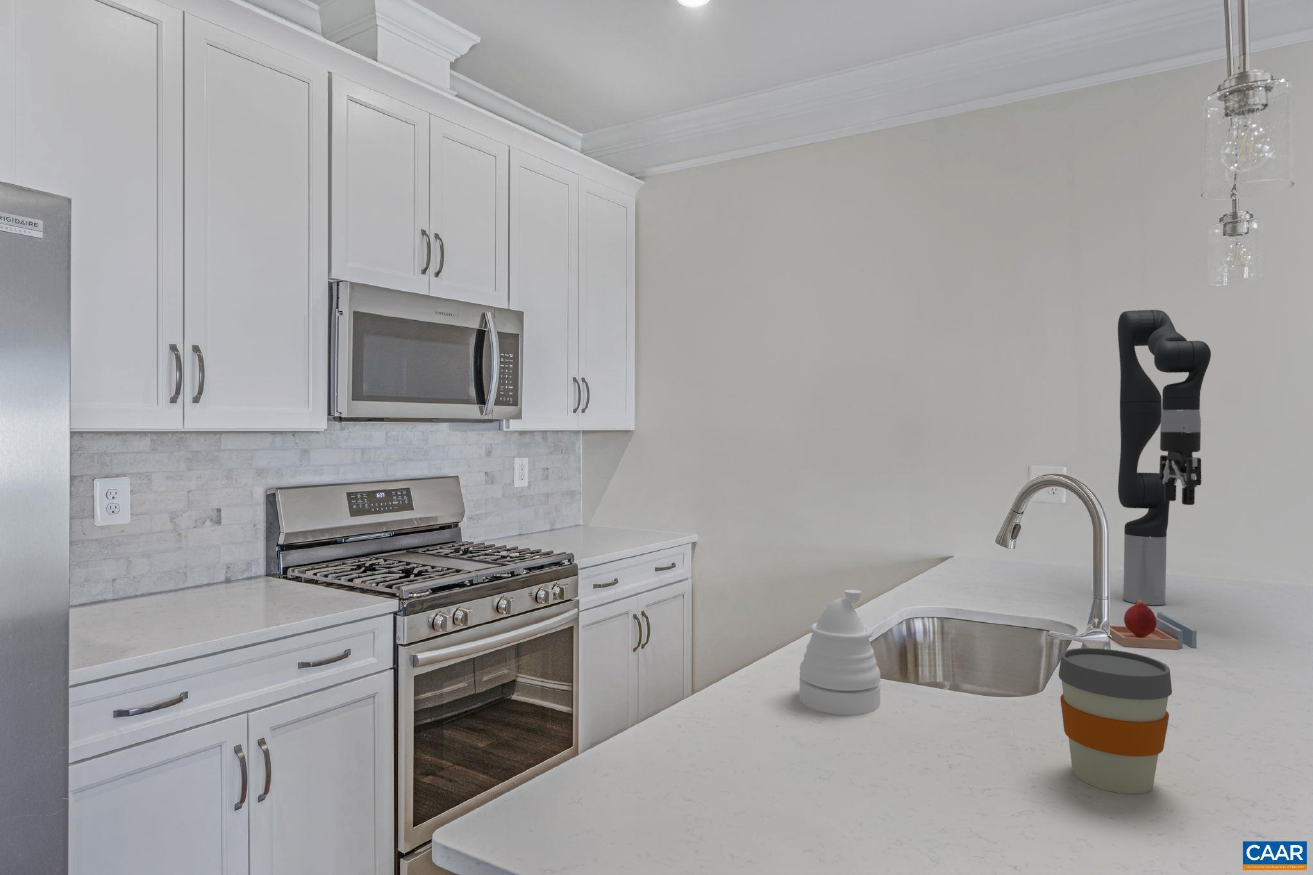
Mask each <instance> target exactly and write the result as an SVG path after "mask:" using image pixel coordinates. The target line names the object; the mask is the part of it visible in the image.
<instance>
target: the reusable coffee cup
mask: <svg viewBox="0 0 1313 875" xmlns="http://www.w3.org/2000/svg"><path fill="white" fill-rule="evenodd" d="M1059 663H1060V664H1059V669H1058V678H1059V679H1060V680H1061V686H1062V694H1061V696H1060V707H1061V714H1062V724H1063V731H1064V734H1065V736H1067V738H1068V745H1069V752H1070V754H1069V755H1070V760H1071V761H1070V762H1071V770H1072V773H1073V775H1074V776H1075V777H1076V778H1078V780H1080V781H1082V782H1083V783H1085V784H1087V785H1089V786H1091V787H1095V788H1097V789H1101V790H1104V791H1107V792H1113V793H1116V794H1117V793H1118V794H1123V795H1125V794H1126V795H1141V794H1145V793H1149V792H1150V791H1152V790H1153V788H1154V784H1155V783H1154V782H1155V776H1156V771H1157V765H1158V759H1159V754H1161V753H1162V752H1163V751H1164V748H1165V747H1164V746H1165V743H1166V736H1167V732H1168V731H1167V729H1168V725H1169V719H1170V714H1169V712H1168V711H1167V708H1168V707H1167V706H1168V702H1169V697H1171V695H1172V694H1173V688H1172V678H1171V670H1170V667H1169V665H1167V664H1165V663H1163V661H1160V660H1157V659H1155V658H1152V657H1149V656H1145V655H1142V654H1138V653H1134V652H1128V651H1124V650H1118V649H1108V648H1099V647H1098V648H1097V647H1080V648H1079V647H1078V648H1077V647H1076V648H1071V649H1070V648H1069V649H1065V650H1064V651H1063V652H1061V655H1060V662H1059Z"/></svg>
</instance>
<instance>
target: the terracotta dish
mask: <svg viewBox="0 0 1313 875" xmlns="http://www.w3.org/2000/svg"><path fill="white" fill-rule="evenodd" d="M1110 635H1111V636H1112V639H1111V640H1113V641H1115V642H1116V643H1117V644H1119V645H1120V646H1121V647H1125V648H1146V649H1161V650H1162V649H1163V650H1179V648H1178V640H1176V639H1175V638H1173V637H1171V636H1169V635H1167V634H1166V633H1164V632H1162V631H1160V630H1159V629H1157V628H1155V630H1154V631H1153V632H1152V633H1151V634H1149V635H1147V636H1145V637H1143V638H1137V637H1136V636H1135V635H1134V634H1133V633H1132V632H1131V631H1130V630H1129V629H1128V628H1127V627H1126V625H1110Z"/></svg>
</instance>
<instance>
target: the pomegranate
mask: <svg viewBox="0 0 1313 875" xmlns="http://www.w3.org/2000/svg"><path fill="white" fill-rule="evenodd" d="M1136 602H1137V603H1135V604H1134V605H1132V606H1130V607H1129V608H1128V609H1127V610H1126V611H1125V613H1124V616H1123V622H1124V624H1125V625H1124V626H1126V627H1127V628H1128V629H1129V630H1130V631H1131V632H1132V633H1133V634H1134V635H1135V636H1136V637H1137V638H1143V637H1145V636H1147V635H1149V634H1151V633H1152V632H1153V631H1154V630H1155V628H1156V624H1157V622H1156V617H1157V616H1156V615H1155V613H1154V612H1153V610H1152V609H1151V608H1150V607H1148V605H1145V604H1144V603H1143V602H1142V601H1140V600H1137V601H1136ZM1155 616H1156V617H1155Z"/></svg>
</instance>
